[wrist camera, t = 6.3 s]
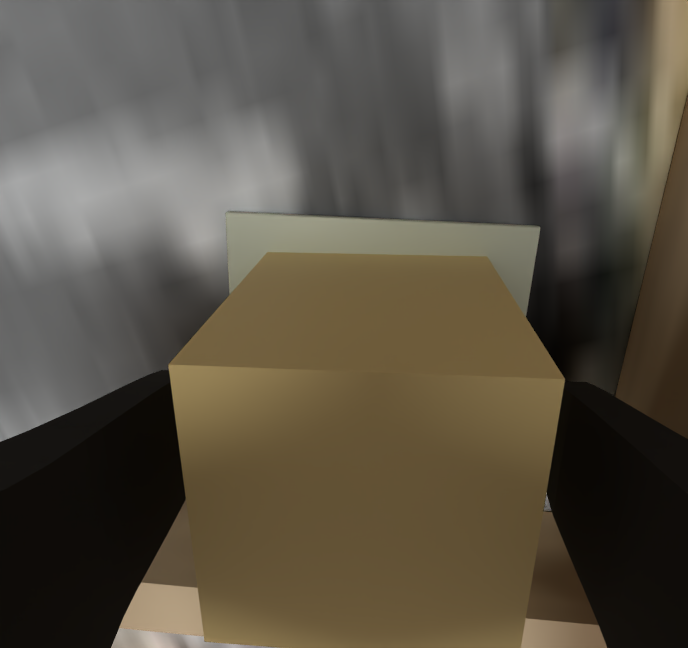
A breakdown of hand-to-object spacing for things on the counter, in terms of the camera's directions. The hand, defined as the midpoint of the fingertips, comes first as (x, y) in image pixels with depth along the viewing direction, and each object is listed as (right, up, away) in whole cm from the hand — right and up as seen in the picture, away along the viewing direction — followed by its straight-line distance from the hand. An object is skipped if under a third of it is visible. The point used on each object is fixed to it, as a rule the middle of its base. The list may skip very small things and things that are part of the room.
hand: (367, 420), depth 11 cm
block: (0, +1, +2) cm, 3 cm away
